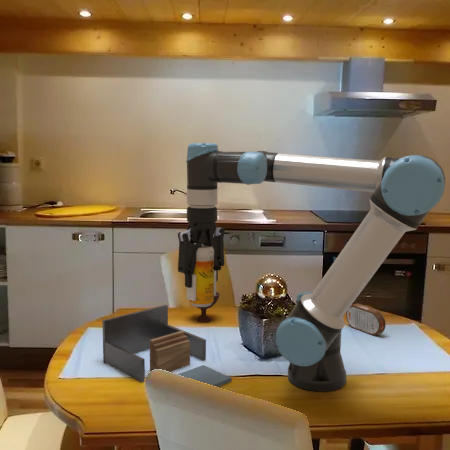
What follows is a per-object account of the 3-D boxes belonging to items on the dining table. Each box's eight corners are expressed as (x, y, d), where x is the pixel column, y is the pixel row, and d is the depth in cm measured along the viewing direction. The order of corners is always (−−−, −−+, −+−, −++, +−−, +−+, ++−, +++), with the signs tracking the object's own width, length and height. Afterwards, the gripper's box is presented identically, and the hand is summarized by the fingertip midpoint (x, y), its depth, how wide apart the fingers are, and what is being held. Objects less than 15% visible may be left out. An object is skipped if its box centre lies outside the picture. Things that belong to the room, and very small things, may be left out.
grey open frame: (205, 359, 153) (206, 319, 151) (141, 382, 138) (141, 337, 136) (165, 342, 166) (165, 304, 165) (103, 361, 151) (102, 320, 150)
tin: (385, 337, 173) (387, 311, 172) (379, 339, 172) (380, 313, 170) (350, 324, 186) (351, 300, 184) (343, 325, 184) (344, 301, 183)
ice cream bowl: (187, 315, 193) (187, 274, 191) (218, 314, 194) (218, 274, 192) (188, 325, 182) (188, 282, 180) (221, 324, 184) (221, 281, 181)
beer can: (210, 308, 133) (210, 248, 131) (186, 306, 134) (186, 247, 132) (215, 301, 139) (216, 244, 137) (192, 300, 140) (193, 243, 138)
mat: (231, 381, 139) (231, 377, 139) (199, 394, 132) (199, 390, 132) (203, 368, 147) (203, 364, 147) (171, 380, 140) (171, 376, 140)
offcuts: (190, 364, 150) (190, 333, 148) (158, 376, 142) (157, 343, 141) (181, 361, 152) (181, 330, 151) (149, 372, 145) (149, 339, 143)
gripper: (219, 202, 142) (218, 287, 146) (161, 207, 129) (162, 301, 133) (240, 204, 137) (238, 293, 140) (181, 210, 124) (181, 307, 127)
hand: (201, 296), depth 136 cm, fingers closed on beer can, 6 cm apart
